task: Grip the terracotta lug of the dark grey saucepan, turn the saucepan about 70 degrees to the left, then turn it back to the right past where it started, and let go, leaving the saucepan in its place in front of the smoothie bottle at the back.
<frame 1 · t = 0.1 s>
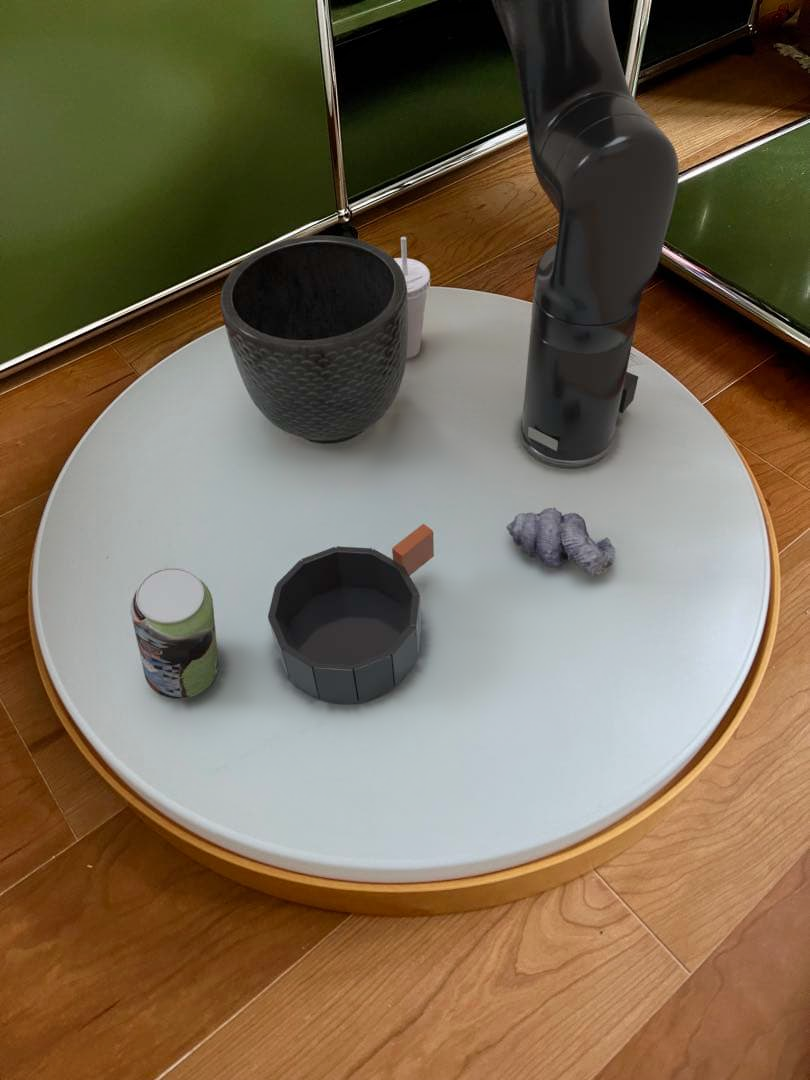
smoothie: (403, 349, 101), on the table
beverage can: (193, 674, 75), on the table
dark grey saucepan: (359, 603, 75), point 3 cm above the table, hinge at 0.0°
seashell: (557, 557, 82), on the table
planter: (331, 416, 94), on the table
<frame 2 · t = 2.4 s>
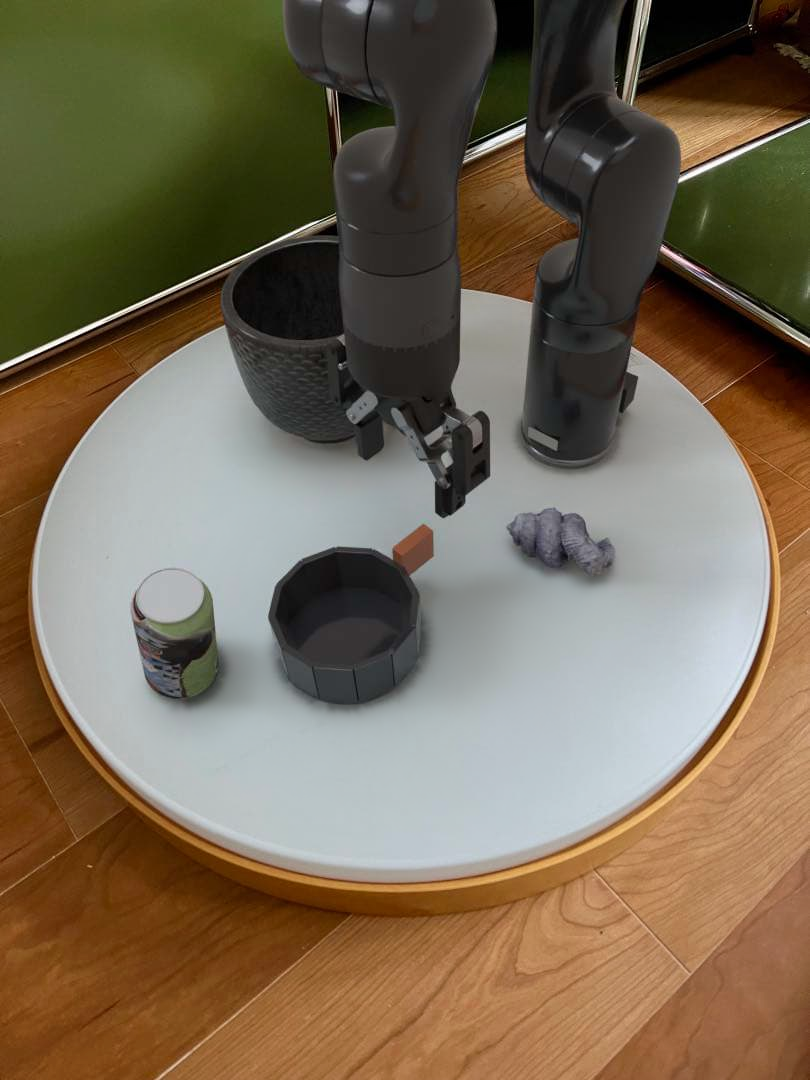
hand: (408, 480, 69), 14 cm above the table, tool pointing down, fingers open, 8 cm apart
nothing on the table moved.
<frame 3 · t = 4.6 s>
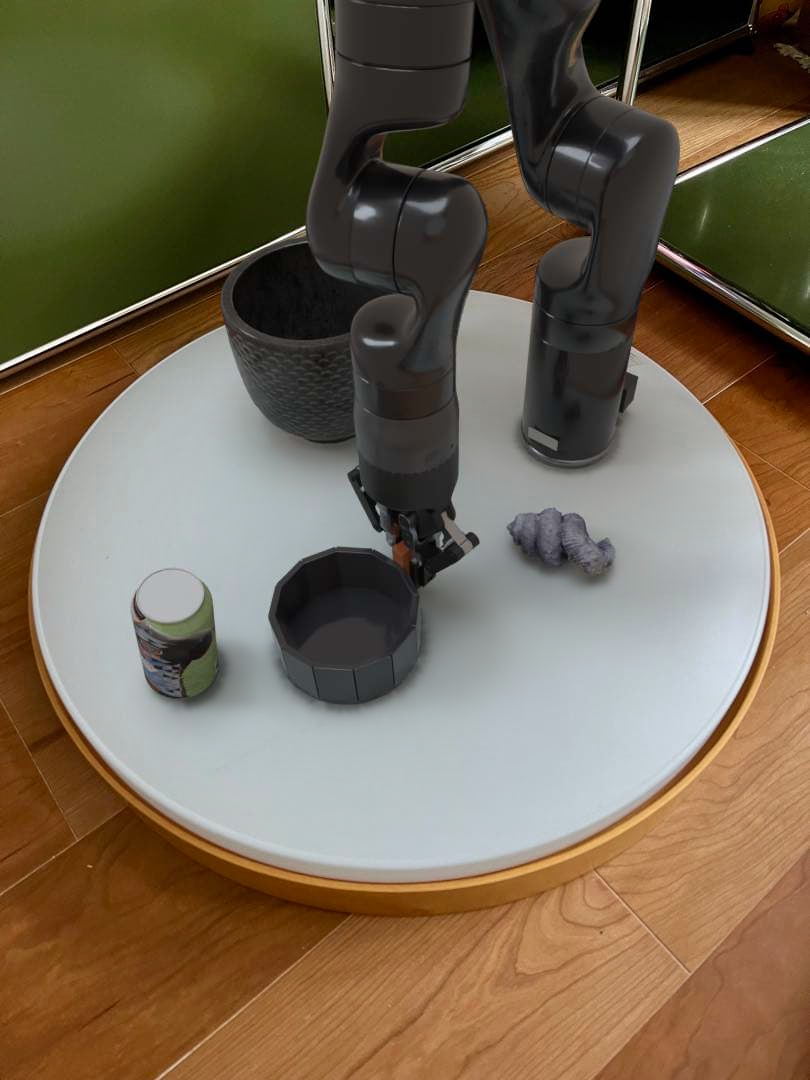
hand: (414, 574, 78), 2 cm above the table, tool pointing down, fingers closed
dark grey saucepan: (359, 603, 75), point 3 cm above the table, hinge at 0.0°, touching gripper
everything else where it was.
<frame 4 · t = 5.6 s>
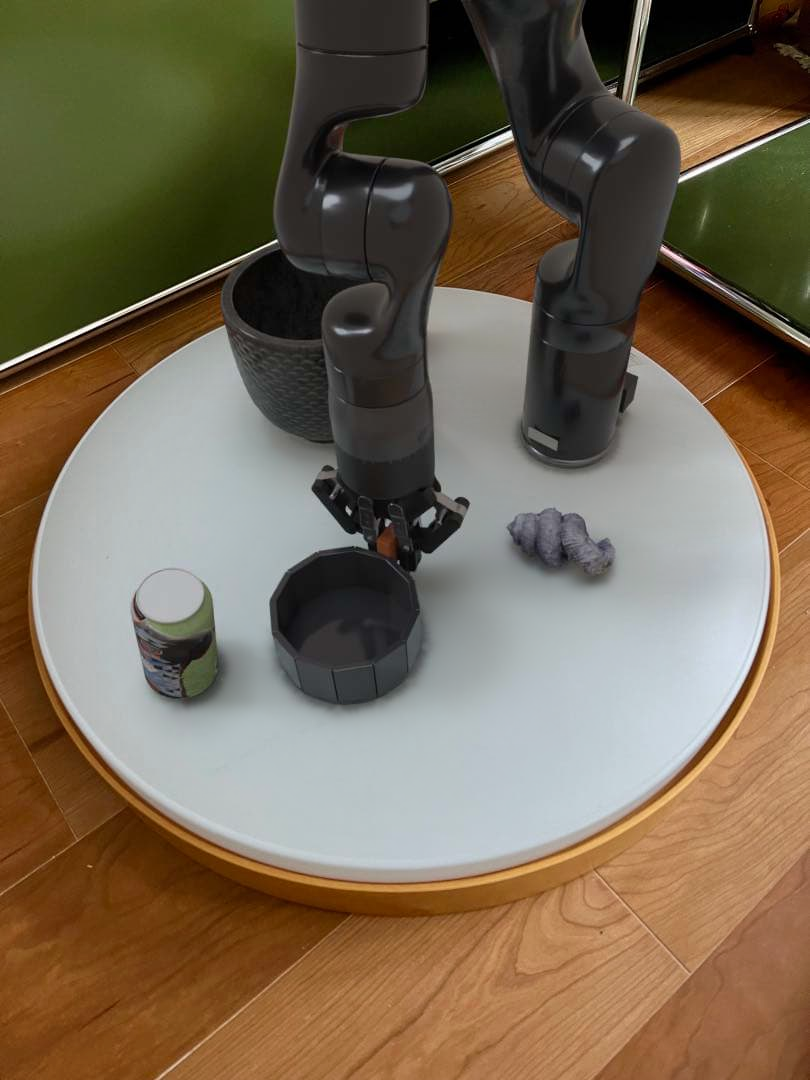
hand: (395, 564, 79), 2 cm above the table, tool pointing down, fingers closed, pressing on dark grey saucepan
dark grey saucepan: (355, 601, 75), point 4 cm above the table, hinge at 14.9°, touching gripper
everything else where it was.
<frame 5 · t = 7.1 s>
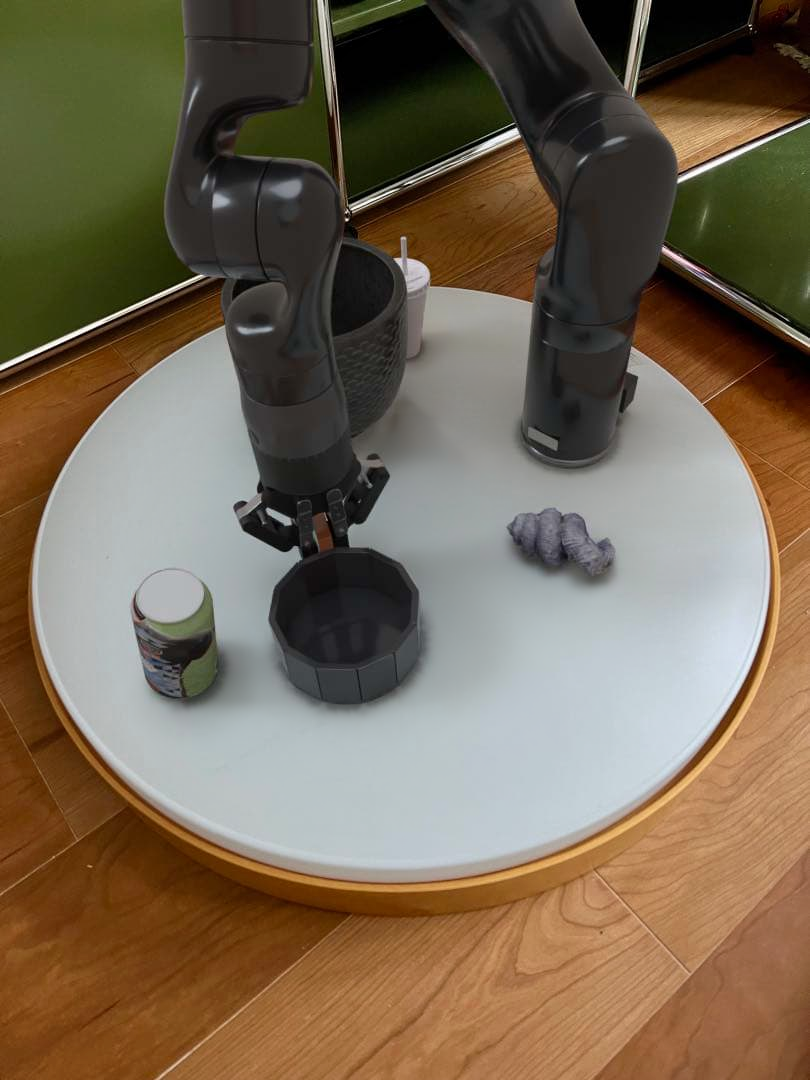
hand: (326, 558, 80), 2 cm above the table, tool pointing down, fingers closed, pressing on dark grey saucepan
dark grey saucepan: (337, 602, 75), point 4 cm above the table, hinge at 62.6°, touching gripper
everything else where it was.
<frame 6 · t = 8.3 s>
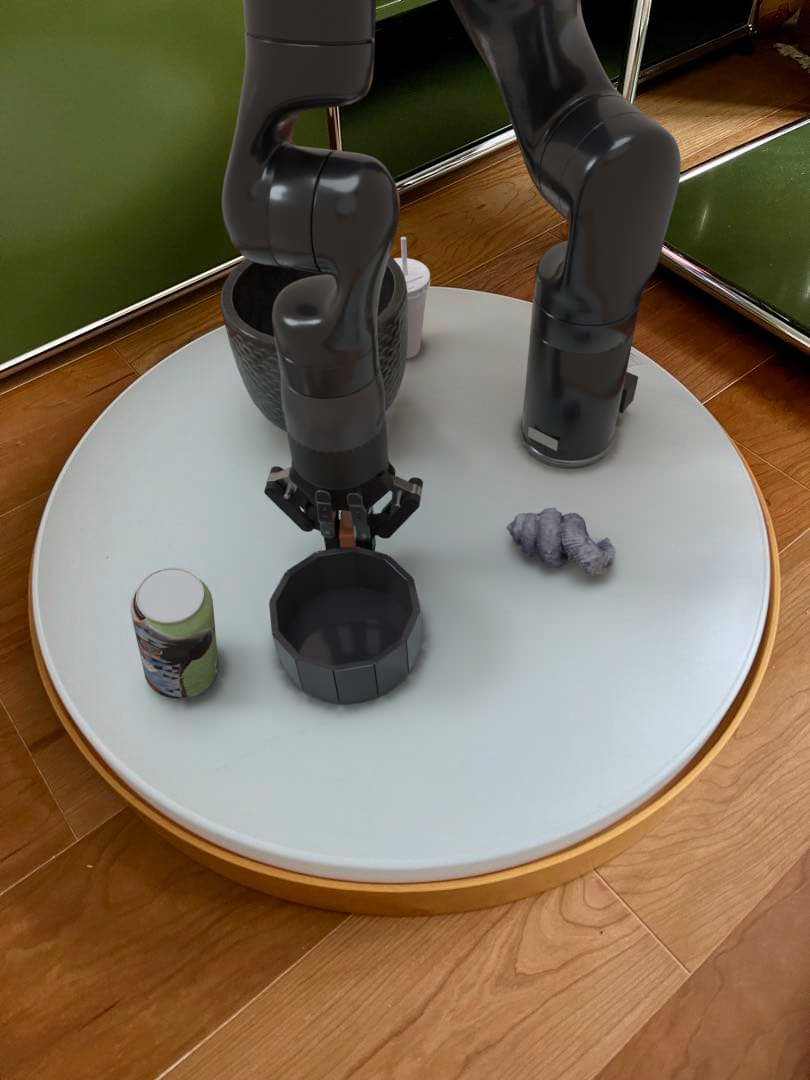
hand: (351, 555, 80), 2 cm above the table, tool pointing down, fingers closed, pressing on dark grey saucepan
dark grey saucepan: (343, 601, 75), point 4 cm above the table, hinge at 45.4°, touching gripper
everything else where it was.
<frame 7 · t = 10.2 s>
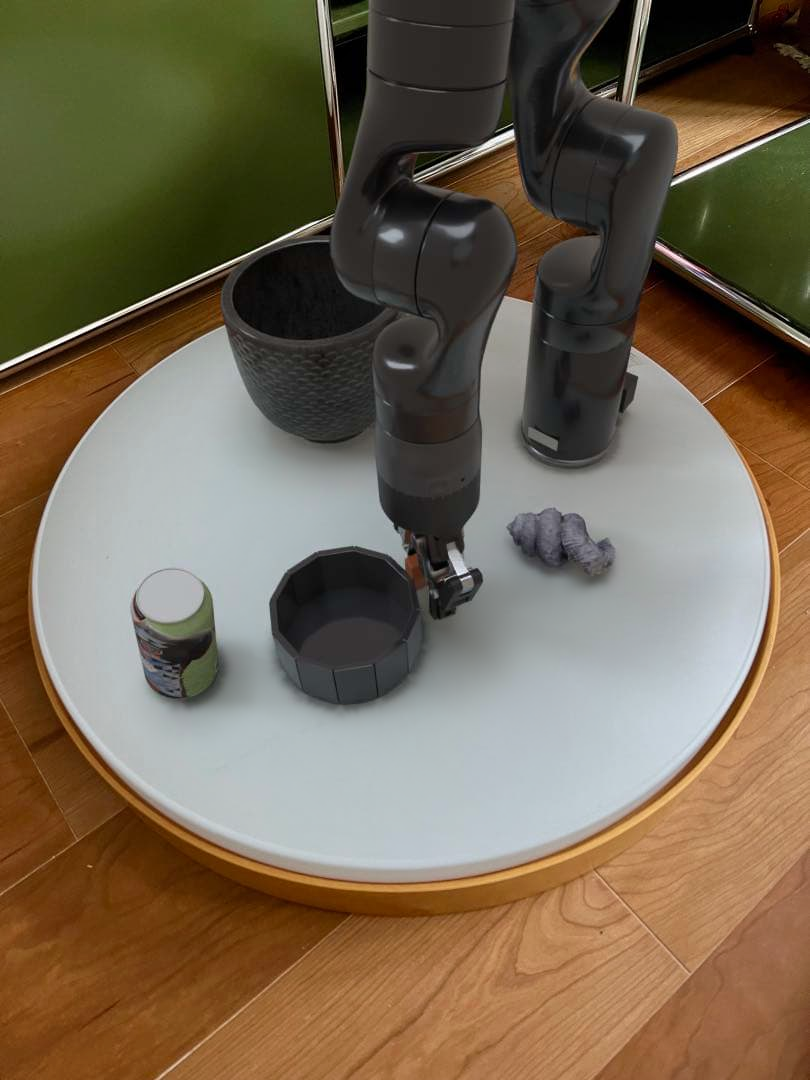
hand: (431, 594, 77), 2 cm above the table, tool pointing down, fingers open, 3 cm apart
dark grey saucepan: (363, 607, 75), point 4 cm above the table, hinge at -14.7°
everything else where it was.
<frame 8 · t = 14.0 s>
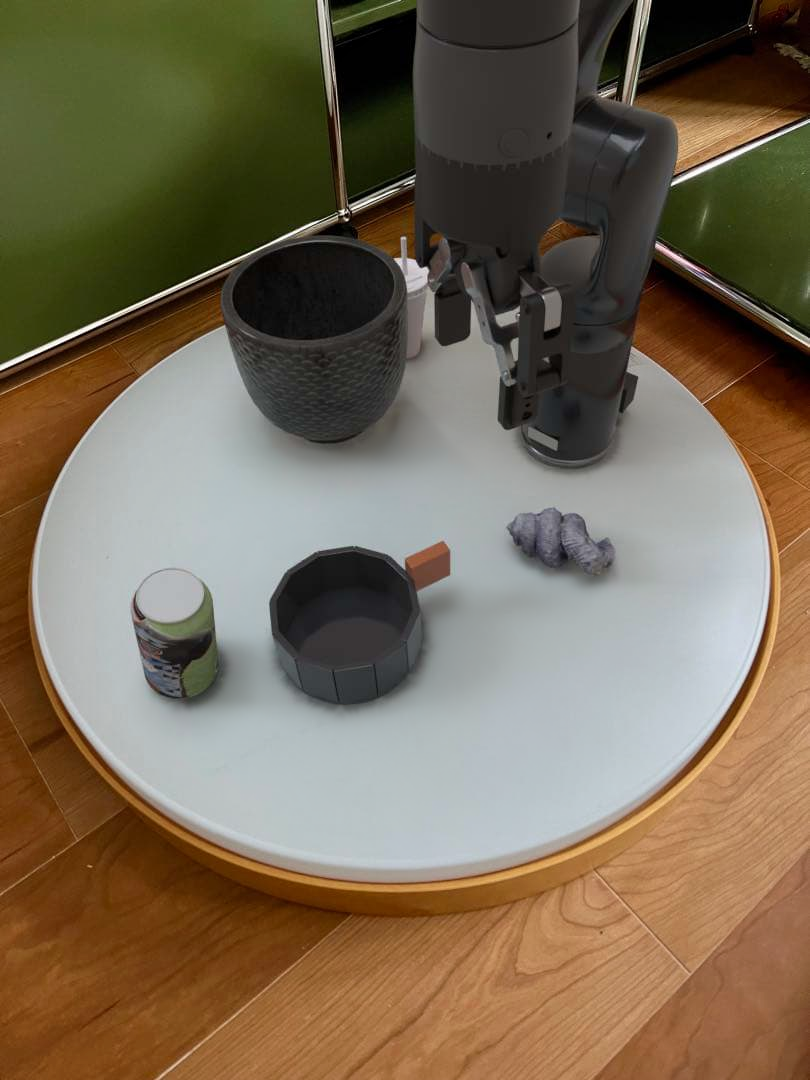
hand: (482, 379, 55), 28 cm above the table, tool pointing down, fingers open, 8 cm apart
nothing on the table moved.
at the end: dark grey saucepan reached +65° during the clip, -15° at the end; dark grey saucepan at -15° (first picture: +0°); dark grey saucepan 0.0 cm from the target spot on the table beside the smoothie, on the table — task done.
